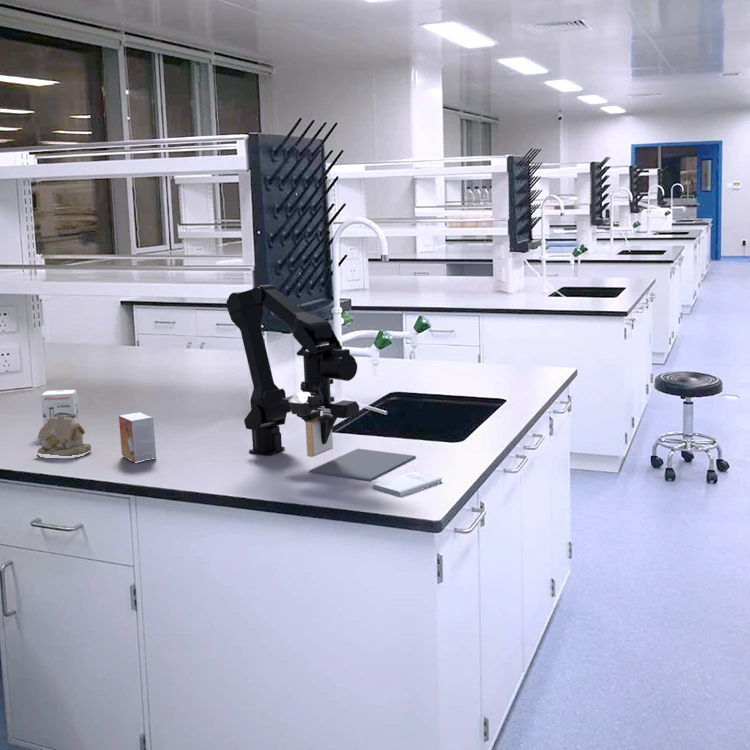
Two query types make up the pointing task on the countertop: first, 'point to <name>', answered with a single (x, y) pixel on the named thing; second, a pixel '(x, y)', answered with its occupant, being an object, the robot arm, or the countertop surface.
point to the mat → (362, 464)
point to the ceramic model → (62, 437)
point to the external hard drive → (406, 483)
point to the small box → (137, 436)
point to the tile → (316, 438)
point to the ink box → (60, 404)
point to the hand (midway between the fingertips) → (320, 443)
